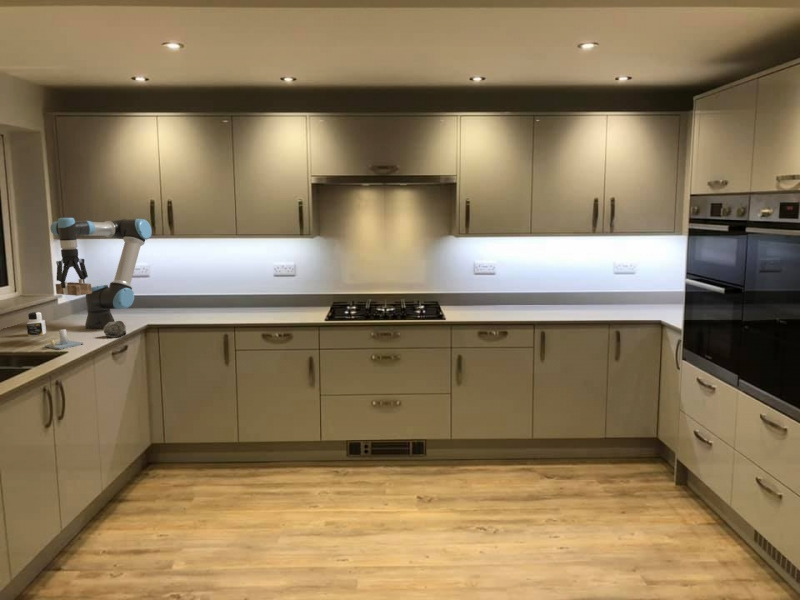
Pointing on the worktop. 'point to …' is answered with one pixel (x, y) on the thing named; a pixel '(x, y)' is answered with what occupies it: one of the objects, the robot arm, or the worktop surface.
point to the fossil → (115, 329)
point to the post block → (63, 341)
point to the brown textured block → (75, 289)
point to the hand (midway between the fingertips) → (74, 293)
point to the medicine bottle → (36, 324)
